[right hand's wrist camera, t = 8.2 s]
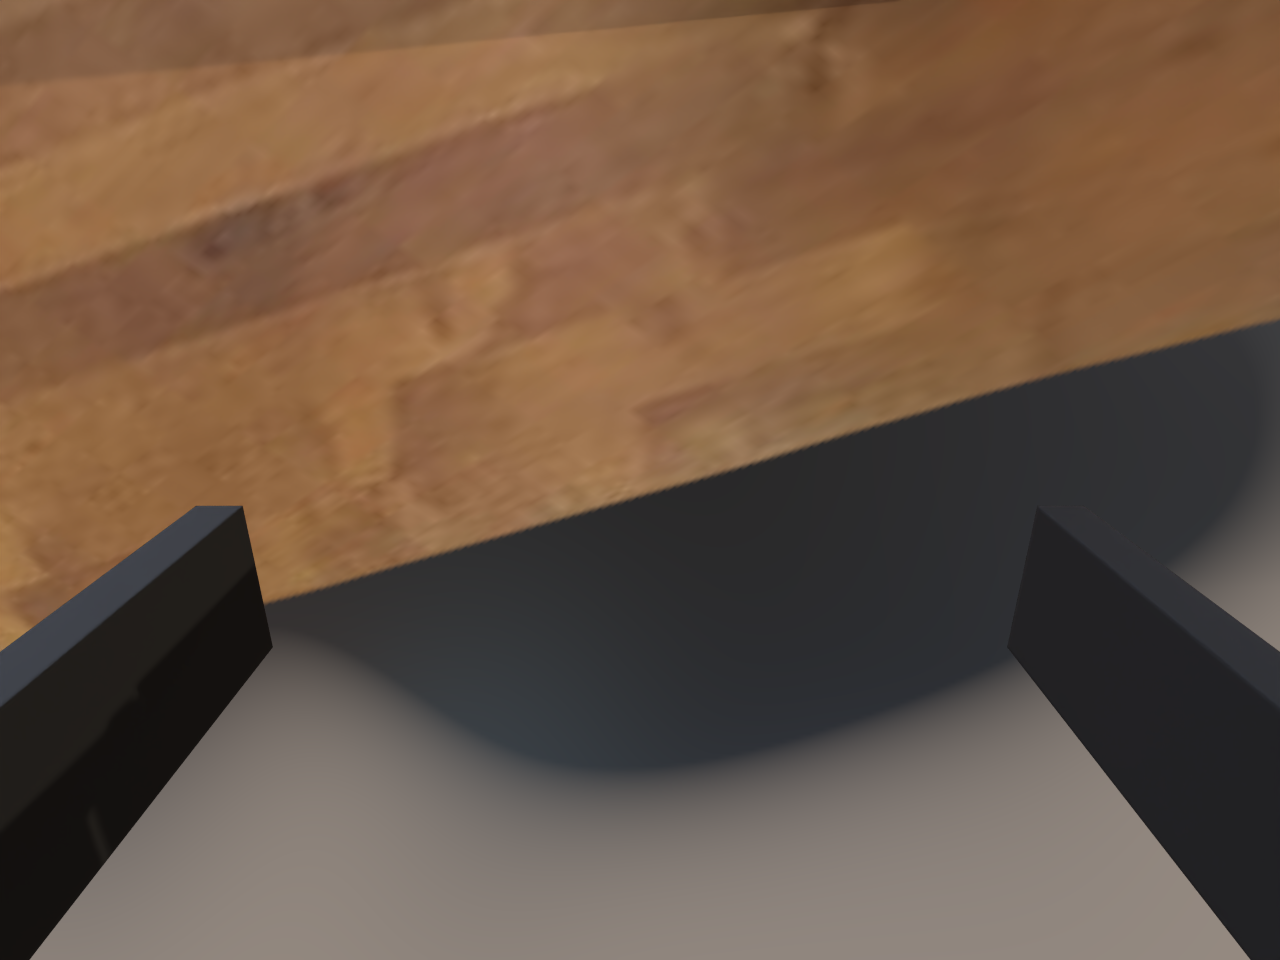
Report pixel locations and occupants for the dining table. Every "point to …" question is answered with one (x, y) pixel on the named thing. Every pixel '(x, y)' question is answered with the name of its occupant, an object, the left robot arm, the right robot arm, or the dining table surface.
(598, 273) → the dining table surface
